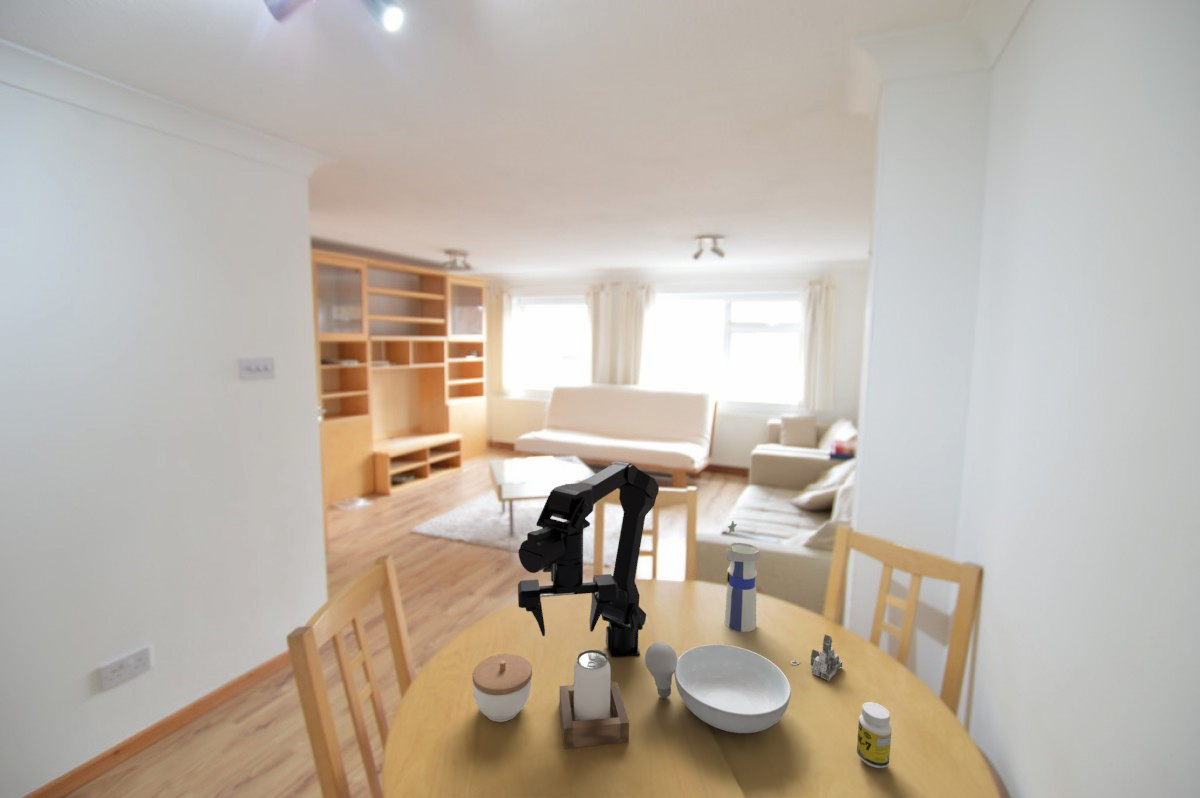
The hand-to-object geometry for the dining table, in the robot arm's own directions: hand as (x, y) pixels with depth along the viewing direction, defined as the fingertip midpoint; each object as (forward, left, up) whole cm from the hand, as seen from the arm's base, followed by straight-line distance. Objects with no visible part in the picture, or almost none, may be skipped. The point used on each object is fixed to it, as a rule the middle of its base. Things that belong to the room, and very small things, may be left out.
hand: (567, 632), depth 97 cm
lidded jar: (+12, +3, -13) cm, 18 cm away
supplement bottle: (-49, +22, -13) cm, 55 cm away
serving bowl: (-30, +8, -13) cm, 34 cm away
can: (-4, +8, -13) cm, 16 cm away
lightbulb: (-19, +3, -12) cm, 23 cm away
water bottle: (-45, -21, -13) cm, 51 cm away
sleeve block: (-4, +8, -12) cm, 15 cm away
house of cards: (-55, -4, -13) cm, 57 cm away
